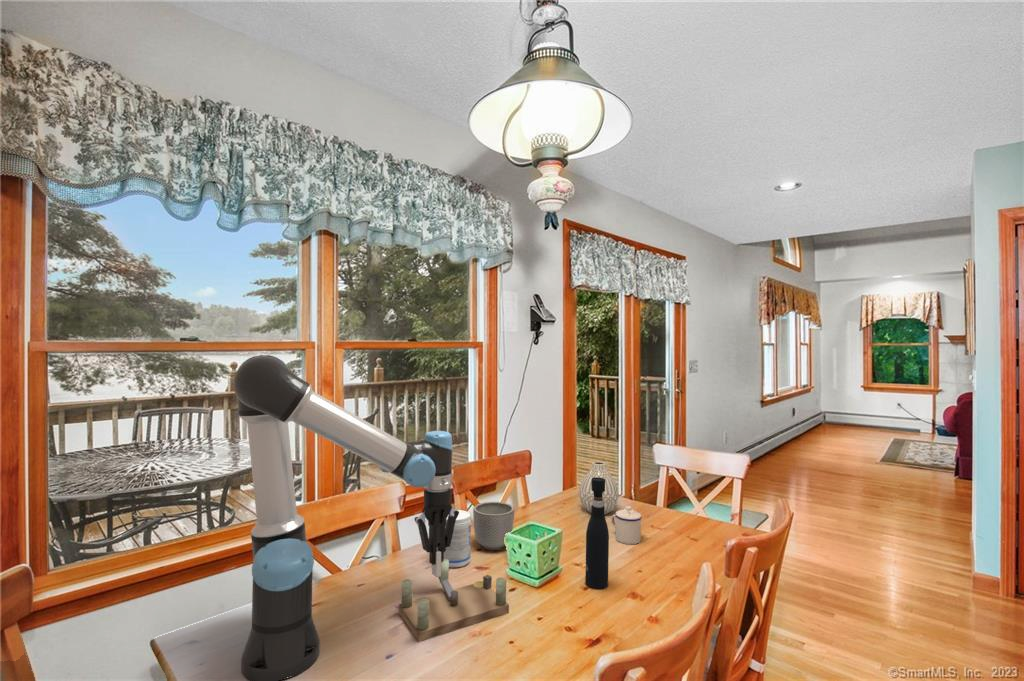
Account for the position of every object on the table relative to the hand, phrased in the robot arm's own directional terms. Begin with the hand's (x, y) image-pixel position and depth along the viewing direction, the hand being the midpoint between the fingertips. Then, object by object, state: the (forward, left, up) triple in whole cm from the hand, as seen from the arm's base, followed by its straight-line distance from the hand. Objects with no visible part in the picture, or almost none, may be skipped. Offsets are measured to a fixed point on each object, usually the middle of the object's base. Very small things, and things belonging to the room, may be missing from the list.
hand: (436, 574), depth 133 cm
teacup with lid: (+72, +1, -5) cm, 73 cm away
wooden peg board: (0, -12, -5) cm, 13 cm away
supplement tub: (+12, +14, -5) cm, 19 cm away
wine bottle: (+41, -19, -5) cm, 46 cm away
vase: (+83, +27, -5) cm, 88 cm away
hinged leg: (+1, -5, -2) cm, 5 cm away
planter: (+28, +18, -5) cm, 34 cm away
